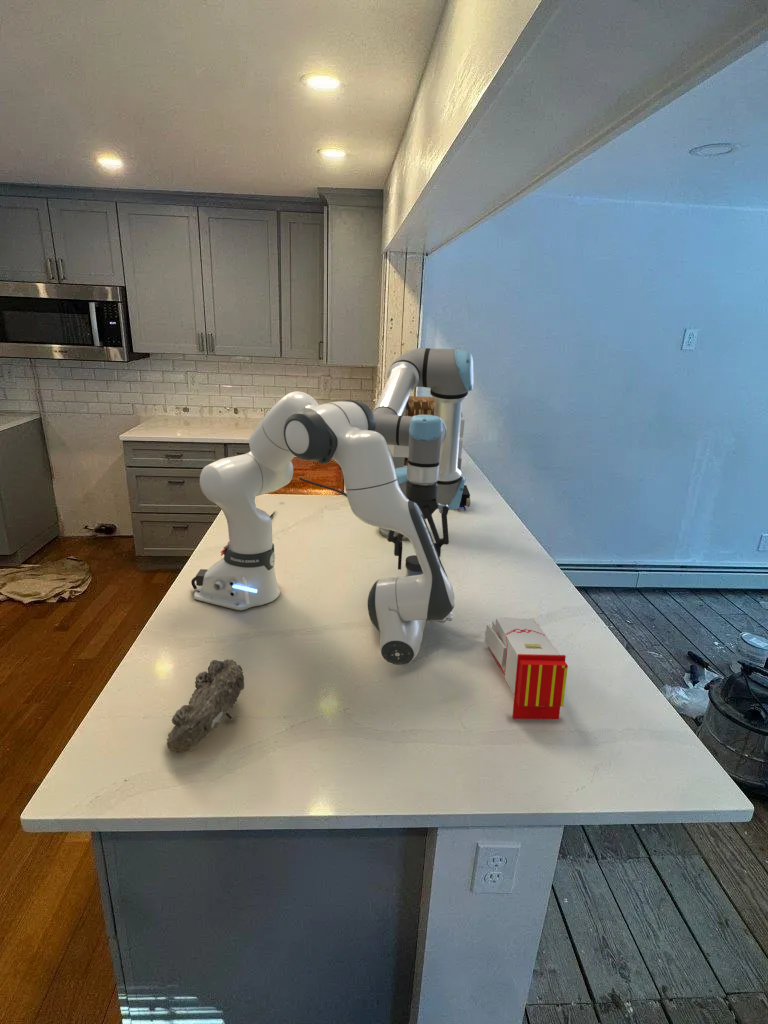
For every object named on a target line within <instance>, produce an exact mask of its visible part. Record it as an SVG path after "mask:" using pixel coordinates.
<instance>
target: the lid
mask: <svg viewBox="0 0 768 1024" xmlns="http://www.w3.org/2000/svg"><path fill="white" fill-rule="evenodd" d="M404 566H405V569H406V568H407V569H408V570H411V571H416V572H421V571H422V568H421V566H420V563H419V560H418V558H417V555H416V554H413V555H409V556H406V557H405V563H404Z"/></svg>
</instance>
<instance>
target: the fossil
mask: <svg viewBox="0 0 768 1024" xmlns="http://www.w3.org/2000/svg"><path fill="white" fill-rule="evenodd" d="M243 670H244V669H243V667H242V665H240V664H237V662H236V661H235V660H234V659H232V658H231V659H227V658H226V659H224V660H223V661H222V660H217V659H212V660H211V661H210V663H209V665H208V666H207V671H201V672H199V673H198V674H197V675H196V676H195V680H194V684H195V685H194V687H195V689H194V690H193V693H192V694H191V697H190V698H189V700H188V704H184V705H182V706H181V707H180V709H177V710H176V711H175V713H174V715H173V716H172V718H171V723H172V724H173V727H172V730H171V731H170V732H168V734H167V738H166V741H167V742H166V745H167V749H168V750H169V751H173V752H174V753H176V754H178V753H182V752H188V751H189V752H192V751H193V750H195V748H196V747H197V746H199V744H200V743H201V742H203V741H204V740H205V739H206V738H207V737H208V736H209V735H210V734H211V733H212V732H214V730H215V729H217V727H218V726H219V724H220V722H221V721H222V720H223V719H224V718H225V716H226V717H227V719H229V720H233V717H232V715H230V714H229V710H230V709H231V708H234V706H235V704H236V703H237V702H238V699H239V697H240V695H241V693H242V691H243V690H245V689H244V688H245V675H244V671H243Z"/></svg>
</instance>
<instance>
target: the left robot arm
mask: <svg viewBox="0 0 768 1024" xmlns="http://www.w3.org/2000/svg"><path fill="white" fill-rule="evenodd" d="M375 426H376V423H375V417H374V414H373V410H372V409H371V407H370V406H368V404H366V403H364V402H363V401H360V400H354V399H345V400H339V401H331V402H325V403H322V404H319V403H318V402H317V400H316V399H315V398H314V397H312V396H311V395H310V394H308V393H307V392H305V391H304V392H303V391H296V390H295V391H291V392H289V393H287V394H286V395H284V396H282V398H280V399H279V400H278V401H276V403H275V404H274V405H273V406H272V407H271V408H270V409H269V410H268V412H266V414H265V415H264V416H263V417H262V419H261V420H260V422H259V424H258V425H257V426H256V427H255V429H254V430H253V432H252V433H251V434H250V437H249V439H248V444H249V450H250V451H248V452H246V453H243V454H239V455H234V456H228V457H224V458H220V459H217V460H215V461H212V462H211V463H209V464H207V465H205V466H204V467H203V468H202V469H201V471H200V475H199V487H200V490H201V492H202V494H203V495H204V497H205V498H206V499H207V500H208V501H209V502H211V503H213V504H215V505H216V506H218V508H219V509H220V510H221V511H222V512H223V514H224V516H225V519H226V523H227V530H228V531H227V532H228V540H229V541H227V544H226V545H225V546H224V547H223V549H222V550H221V551H220V556H223V557H222V558H220V559H219V560H218V561H216V562H215V563H214V564H212V565H211V566H210V567H209V568H208V569H207V568H206V569H204V568H203V569H202V568H200V569H199V570H198V572H197V573H196V575H195V576H194V577H193V578H192V579H191V581H190V584H191V586H192V589H193V590H194V595H193V598H194V599H195V600H196V601H200V602H205V603H207V604H211V605H212V604H213V605H216V606H220V607H222V608H223V607H224V608H228V609H232V610H235V611H245V610H247V609H251V608H253V607H258V606H264V605H267V604H270V603H271V602H273V601H275V600H276V599H277V598H278V597H279V596H280V594H281V589H280V587H279V585H278V584H279V583H278V581H277V577H276V570H275V564H276V553H275V552H276V551H275V544H274V543H273V519H272V518H270V516H271V515H269V513H268V512H266V511H265V510H263V509H261V508H258V507H257V505H256V497H258V496H259V497H260V496H262V495H266V494H270V493H274V492H276V491H278V490H280V489H282V488H284V487H285V486H287V485H288V484H289V483H290V482H291V481H292V479H293V476H294V464H293V462H292V461H293V460H294V458H295V457H296V458H298V459H300V460H304V461H311V462H318V463H320V464H325V465H326V464H328V463H329V462H330V461H331V460H333V461H334V462H336V464H338V465H339V467H340V470H341V473H342V478H343V482H344V488H345V493H346V494H347V496H346V497H347V501H348V504H349V507H350V509H351V512H352V513H353V515H354V516H355V517H356V518H357V519H359V520H360V521H361V522H363V523H365V524H367V525H369V526H372V527H376V528H378V529H379V528H384V529H389V530H392V531H396V532H398V533H401V534H403V535H404V536H406V537H407V538H408V539H409V540H408V541H410V543H411V544H412V547H413V550H414V553H415V555H417V558H418V560H419V563H420V566H421V568H422V571H423V574H421V575H414V576H406V575H405V576H395V577H386V578H380V579H377V580H376V581H374V583H373V585H372V586H371V588H370V590H369V592H368V597H367V612H368V616H369V620H370V622H371V623H372V625H373V626H374V627H375V629H376V630H377V631H378V632H379V636H380V640H379V651H380V655H381V658H383V659H384V661H385V662H387V663H389V664H391V665H395V666H401V665H402V666H403V665H408V664H410V663H411V662H412V661H414V659H415V658H416V657H417V655H418V653H419V651H420V648H421V645H422V641H423V637H424V633H423V632H424V631H425V627H426V624H427V622H430V623H436V624H437V623H438V624H444V623H447V622H451V621H453V616H454V615H453V610H454V608H455V603H456V602H455V601H456V596H455V591H454V587H453V585H452V582H451V580H450V579H449V577H448V575H447V572H446V570H445V568H444V566H443V563H442V560H441V557H440V558H439V555H438V552H437V550H436V547H435V544H434V543H435V540H434V538H433V535H432V532H431V530H430V529H429V528H430V527H429V526H428V523H427V521H426V519H425V518H424V516H423V514H422V512H421V510H420V508H419V506H418V505H417V504H416V503H415V502H413V501H410V500H408V499H407V497H406V496H405V495H404V494H403V492H402V491H401V489H400V486H399V484H398V480H397V475H396V470H395V466H394V462H393V459H392V456H391V453H390V450H389V448H388V445H387V443H386V440H385V438H384V437H383V436H382V435H381V434H380V433H378V432H375ZM290 484H291V483H290Z"/></svg>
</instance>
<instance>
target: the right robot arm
mask: <svg viewBox="0 0 768 1024" xmlns="http://www.w3.org/2000/svg"><path fill="white" fill-rule="evenodd" d="M474 373H475V371H474V359H473V355H472V354H471V352H469V350H461V349H457V348H429V347H418V348H417V347H416V348H414V349H411V350H409V351H406V352H405V353H403V354H401V355H400V356H398V357H397V358H396V359H395V360H394V361H393V362H392V363H391V364H390V366H389V368H388V370H387V374H386V375H387V376H386V377H387V380H386V383H385V385H384V387H383V390H382V391H381V393H380V395H379V398H378V400H377V402H376V404H375V406H374V408H373V410H372V412H373V414H374V417H375V423H376V426H375V432H378V433H380V434H381V435H382V436H383V437H384V438H385V440H386V443H387V445H398V446H409V453H408V465H406V466H404V467H400V468H396V469H395V470H396V475H397V480H398V484H399V486H400V489H401V491H402V492H403V494H404V495H405V496H406V497H407V499H408V500H410V501H413V502H415V503H416V504H417V505H418V506H419V508H420V510H421V512H422V514H423V516H424V518H425V520H427V522H428V523H427V524H428V525H429V528H430V532H431V535H432V537H433V540H434V544H435V547H436V550H437V552H438V555H439V558H440V559H441V555H442V554H441V552H442V547H443V546H444V545H446V546H447V545H449V544H450V537H449V527H448V524H449V523H448V514H449V511H458V510H457V509H460V508H459V505H460V501H461V497H462V493H463V488H464V485H466V484H465V483H466V478H465V477H464V476H462V470H461V471H460V470H459V469H458V468H457V465H458V452H459V438H460V425H461V418H462V417H461V412H462V413H463V411H462V409H463V400H465V399H466V398H467V397H468V396H469V392H470V391H473V389H474V383H475V381H474V376H475V374H474ZM416 388H429V389H430V391H429V394H430V397H433V398H434V399H435V406H434V416H433V415H415V416H413V417H411V416H402V414H403V411H404V409H405V406H406V404H407V401H408V399H409V396H411V393H412V391H414V390H415V389H416ZM460 439H461V438H460ZM299 480H300V481H302V482H305V483H308V484H311V485H314V486H318V487H321V488H324V489H327V490H330V491H334V492H336V493H339V494H342V495H343V496H345V497H347V493H346V492H344V491H342V490H339V489H336V488H333V487H330V486H328V485H324V484H321V483H318V482H313V481H311V480H308V479H305V478H302V477H299ZM437 510H438V513H440V517H441V528H442V538H441V537H440V534H439V532H438V529H437V526H436V524H435V521H434V518H433V514H434V512H436V511H437ZM378 533H379V534H380V535H381V536H382V537H385V538H387V541H388V542H389V543H393V544H394V545H393V547H394V549H393V554H394V556H395V557H397V558H398V559H397V570H400V571H401V570H402V563H403V562H402V559H403V541H410V540H409V539H408V538H407V537H406V536H404V535H403V534H401V533H398V532H396V531H392V530H389V529H384V528H379V527H378Z"/></svg>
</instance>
